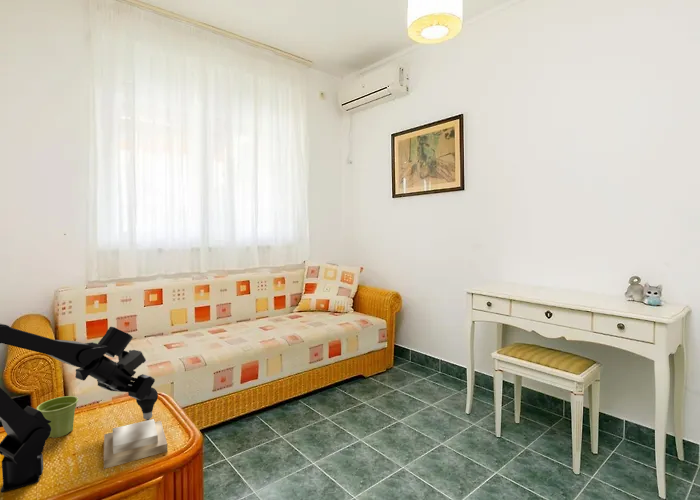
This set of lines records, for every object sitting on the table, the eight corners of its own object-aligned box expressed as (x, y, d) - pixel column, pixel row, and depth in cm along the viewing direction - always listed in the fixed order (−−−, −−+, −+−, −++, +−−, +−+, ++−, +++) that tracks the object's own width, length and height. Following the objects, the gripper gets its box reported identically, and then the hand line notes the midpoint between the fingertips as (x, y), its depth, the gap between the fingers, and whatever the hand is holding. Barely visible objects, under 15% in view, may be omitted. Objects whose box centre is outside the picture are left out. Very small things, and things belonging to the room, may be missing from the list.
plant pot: (41, 446, 103) (39, 414, 103) (35, 433, 110) (34, 403, 109) (83, 432, 110) (81, 403, 110) (75, 421, 117) (74, 393, 116)
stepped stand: (103, 468, 94) (103, 453, 94) (104, 441, 106) (104, 427, 105) (167, 451, 101) (166, 436, 101) (161, 427, 113) (160, 414, 113)
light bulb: (162, 415, 120) (161, 384, 119) (151, 425, 114) (149, 392, 114) (144, 414, 121) (143, 383, 120) (132, 424, 115) (131, 391, 114)
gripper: (146, 349, 106) (182, 374, 117) (106, 340, 115) (142, 364, 125) (120, 388, 100) (160, 411, 110) (78, 375, 108) (119, 397, 119)
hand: (145, 394), depth 116 cm, fingers open, 9 cm apart
